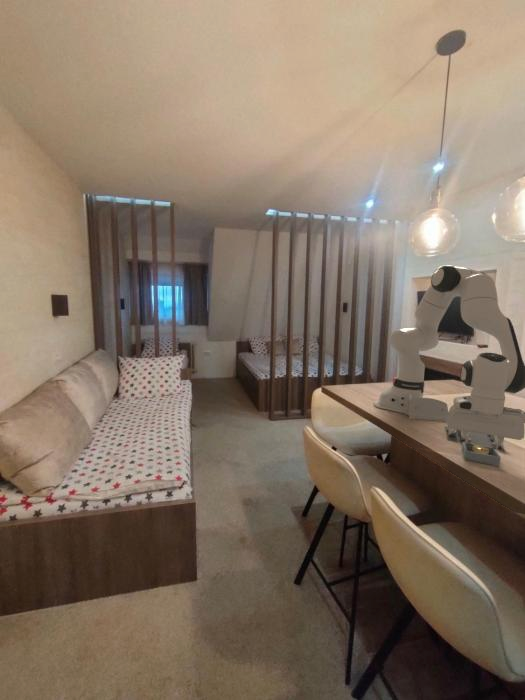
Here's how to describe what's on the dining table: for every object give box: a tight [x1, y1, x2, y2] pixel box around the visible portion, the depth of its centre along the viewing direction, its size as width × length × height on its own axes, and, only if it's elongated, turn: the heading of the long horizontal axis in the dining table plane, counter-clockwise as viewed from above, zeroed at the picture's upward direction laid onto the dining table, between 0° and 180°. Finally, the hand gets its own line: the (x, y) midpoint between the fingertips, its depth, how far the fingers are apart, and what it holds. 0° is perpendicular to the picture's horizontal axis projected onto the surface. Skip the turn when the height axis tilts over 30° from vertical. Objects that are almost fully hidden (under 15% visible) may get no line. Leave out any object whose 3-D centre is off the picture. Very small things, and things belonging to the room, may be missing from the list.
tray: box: [461, 442, 501, 468], centre depth 101 cm, size 9×8×3 cm
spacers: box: [446, 424, 504, 449], centre depth 116 cm, size 16×14×4 cm
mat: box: [444, 425, 506, 452], centre depth 117 cm, size 17×16×1 cm
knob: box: [472, 445, 489, 455], centre depth 100 cm, size 4×4×3 cm
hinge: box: [406, 397, 449, 423], centre depth 138 cm, size 17×5×10 cm, turn 75°
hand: (480, 446), depth 100 cm, fingers open, 6 cm apart
